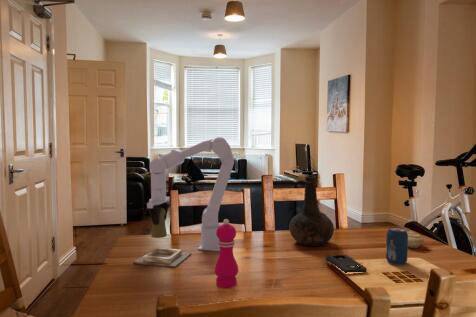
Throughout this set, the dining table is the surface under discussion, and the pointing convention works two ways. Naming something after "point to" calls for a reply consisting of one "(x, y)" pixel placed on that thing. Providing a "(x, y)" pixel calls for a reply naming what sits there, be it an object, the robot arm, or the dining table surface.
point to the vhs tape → (346, 263)
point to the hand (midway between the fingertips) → (159, 222)
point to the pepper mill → (226, 256)
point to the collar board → (163, 257)
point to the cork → (159, 227)
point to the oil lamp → (414, 239)
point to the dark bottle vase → (311, 219)
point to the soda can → (396, 246)
